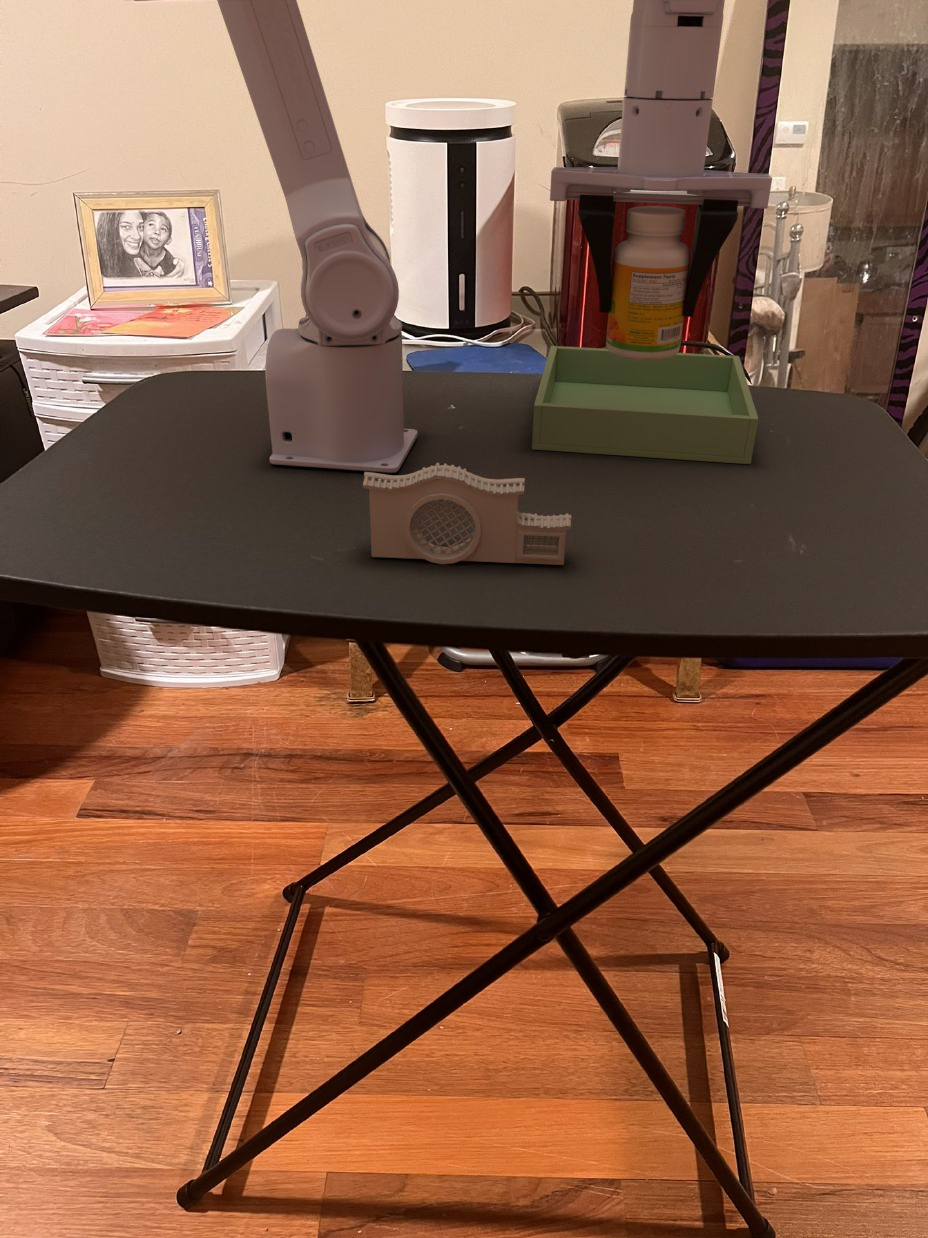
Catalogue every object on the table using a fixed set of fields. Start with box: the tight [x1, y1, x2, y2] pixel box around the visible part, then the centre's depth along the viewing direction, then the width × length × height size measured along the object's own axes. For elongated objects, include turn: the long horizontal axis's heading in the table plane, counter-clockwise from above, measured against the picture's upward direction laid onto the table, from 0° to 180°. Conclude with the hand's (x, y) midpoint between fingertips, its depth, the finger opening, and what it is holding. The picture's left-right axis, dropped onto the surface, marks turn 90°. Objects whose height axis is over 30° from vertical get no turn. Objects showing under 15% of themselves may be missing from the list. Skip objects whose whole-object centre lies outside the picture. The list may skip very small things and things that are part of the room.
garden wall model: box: [362, 462, 572, 566], centre depth 57 cm, size 12×2×6 cm, turn 86°
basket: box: [531, 345, 760, 465], centre depth 79 cm, size 16×16×4 cm
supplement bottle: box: [605, 205, 692, 360], centre depth 69 cm, size 5×5×10 cm
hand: (645, 311), depth 70 cm, fingers closed on supplement bottle, 5 cm apart
